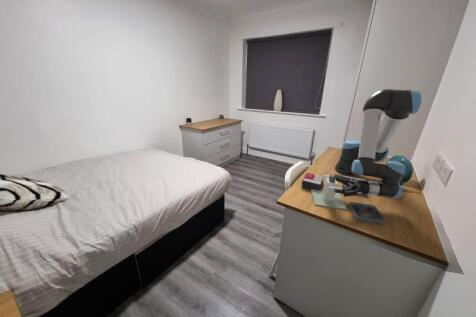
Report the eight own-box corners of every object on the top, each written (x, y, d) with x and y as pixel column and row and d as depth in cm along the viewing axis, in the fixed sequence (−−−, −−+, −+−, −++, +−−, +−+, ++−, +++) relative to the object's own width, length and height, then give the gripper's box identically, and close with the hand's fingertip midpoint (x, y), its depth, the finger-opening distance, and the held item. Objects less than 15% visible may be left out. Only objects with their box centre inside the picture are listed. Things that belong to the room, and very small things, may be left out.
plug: (322, 195, 114) (327, 173, 109) (331, 196, 113) (336, 174, 108) (323, 199, 109) (329, 177, 104) (333, 201, 109) (339, 178, 103)
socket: (348, 205, 106) (349, 201, 105) (372, 209, 104) (374, 205, 103) (356, 220, 95) (357, 216, 94) (383, 224, 93) (385, 220, 92)
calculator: (323, 176, 130) (321, 184, 117) (322, 182, 131) (319, 190, 118) (306, 172, 134) (302, 179, 121) (305, 178, 136) (301, 185, 123)
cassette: (341, 187, 124) (344, 176, 121) (341, 186, 126) (344, 175, 123) (363, 192, 120) (366, 181, 117) (362, 190, 122) (366, 179, 119)
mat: (310, 189, 120) (310, 189, 120) (338, 193, 117) (338, 192, 117) (314, 205, 106) (315, 204, 105) (346, 209, 103) (347, 208, 103)
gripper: (375, 207, 95) (328, 201, 98) (356, 182, 117) (319, 178, 121) (379, 194, 92) (331, 188, 95) (360, 171, 114) (321, 167, 118)
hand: (324, 182), depth 108 cm, fingers open, 13 cm apart
